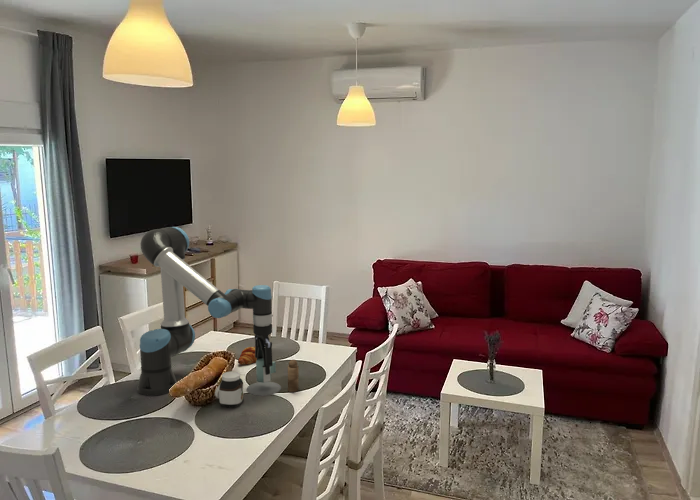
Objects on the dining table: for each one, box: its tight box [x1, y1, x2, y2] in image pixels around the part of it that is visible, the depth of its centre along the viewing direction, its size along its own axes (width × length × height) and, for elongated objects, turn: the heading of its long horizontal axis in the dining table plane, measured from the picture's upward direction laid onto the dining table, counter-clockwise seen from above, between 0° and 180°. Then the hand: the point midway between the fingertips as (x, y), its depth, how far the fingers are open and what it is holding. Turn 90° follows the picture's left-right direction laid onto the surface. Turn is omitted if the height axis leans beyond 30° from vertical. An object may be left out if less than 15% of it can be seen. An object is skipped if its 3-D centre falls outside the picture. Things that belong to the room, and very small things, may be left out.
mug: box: [255, 359, 277, 383], centre depth 222 cm, size 8×6×8 cm
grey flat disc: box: [245, 381, 282, 397], centre depth 222 cm, size 14×14×1 cm
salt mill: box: [287, 359, 300, 393], centre depth 220 cm, size 4×4×13 cm
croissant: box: [237, 346, 257, 365], centre depth 256 cm, size 21×10×8 cm, turn 156°
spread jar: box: [214, 371, 244, 408], centre depth 208 cm, size 12×11×12 cm
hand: (264, 378), depth 222 cm, fingers closed on mug, 6 cm apart
